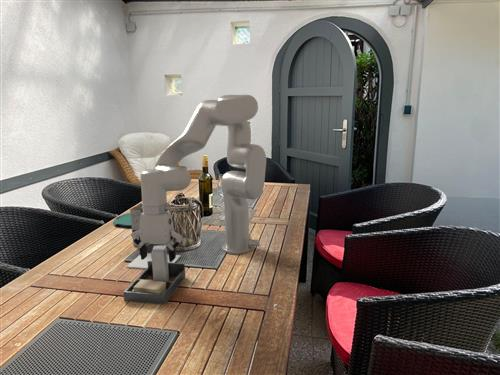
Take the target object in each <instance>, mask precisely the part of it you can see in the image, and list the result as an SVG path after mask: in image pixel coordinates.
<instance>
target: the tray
mask: <svg viewBox="0 0 500 375" xmlns="http://www.w3.org/2000/svg"><path fill="white" fill-rule="evenodd" d="M147 263H148V268H147V269H144V270H143V271H142V272H141V274H139V275H138V277H136V279H134V280H133V281H132V283H131V284H129V285H128V286H127V288H126V289H124V291H123V292H122V293H123V300H124V302H133V303H145V304H152V305H153V304H156V305H164V306H165V305H166V304H167V303H168V302H169V300H170V299H171V297H172V296H173V295H174V294H175V292H176V291H177V289H178V288H179V286H180V285H181V284H182V282H183V281H184V280H185V279H186V268H185V267H186V265H185V263H182V262H181V263H179V262H176V263H169V262H168V269H169V278H170V277H171V278H175V279H174V280H173V281H170V280H168V281H161V282H166V292H165V293H164V294H154V293H142V292H132V290H133V289H134V288H133V287H134V286H135V285H136V284H137V283H138V282H139V281H140V280H148V279H149V278H150V276H153V268H152V261H148V262H147ZM150 280H151V281H159V280H154V279H150Z"/></svg>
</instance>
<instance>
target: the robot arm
mask: <svg viewBox="0 0 500 375" xmlns="http://www.w3.org/2000/svg"><path fill="white" fill-rule="evenodd" d="M258 111H259V103H258V101H257V98H255V97H254V96H252V95H250V94H225V95H221V96H219V97H218V98H217V99H206V100H203V101H201V102H200V103H199V104H198V106H197V107H196V108H195V110H194V111H193V112H194V113H193V114H192V116H191V117H190V119H189V122H188V123H187V125H186V126H185V129H184V130H183V132H182V134H181V135H180V136H179V137H178V138H177V139H175V140H174V141H172V143H171V144H169V145H168V146H167V147H166V148H165V149H164V150H163V151H162V152H161V154H160V156H159V157H158V159H157V161H156V163H155V164H154V167H153V169H145V170H142V172H141V173H140V188H141V204H142V206H143V212H142V213H141V219H140V230H137V231H135V232H133V233H132V232H131V234H130V235H131V236H130V237H131V238H132V240H133V239H134V242H135V243H136V244H137V245H138V246H137V248H139V255H140V256H141V260H143V259H145V258H146V257H147V253H148V246H146V245H145V243H149V244H150V245H151V244H153V245H166V247H167V248H169V250H168V254H169V261H170V262H172V261H173V260H174V259H175V258H176V255H177V251H176V248H177V247H178V246H180V245H181V243H182V240H183V238H184V236H183V235H181V234H180V233H178V232H176V231H175V230H174V222H172V221H173V216H172V214H171V212H170V211H171V210H172V206H171V205H168V199H167V197H168V196H167V195H168V194H167V192H179V191H180V192H181V191H184V190H186V189H187V188H188V187H189V186H190V184H191V183H192V182H191V181H192V176H191V173H190V172H189V171H188V170H187V169H185V168H183V167H179V166H178V164H179V163H180V162H181V161H182V160H183V159H184V158H185V157H188V156H189V155H191V154H194V153H196V152H199V151H200V150H202V149H204V148H205V147H206V145H207V144H208V142H209V139H210V137H211V136H212V133H213V132H214V130H215V128H216V127H217V126H219V127H220V126H221V127H227V132H228V133H227V134H228V135H227V145H226V146H227V148H226V161H227V164H228V165H229V166H230V167H233V168H237V169H242V170H243V169H244V170H245V172H244V171H239V170H230V171H226V172H225V173H224V174H223V175H222V177H221V179H220V188H221V192H222V197H223V198H222V199H223V205H224V208H223V210H224V212H223V213H224V234H225V235H224V236H225V238H224V239H225V241H224V242H223V243H222V245H221V250H222V251H223V252H225V253H227V254H231V255H241V254H243V255H244V254H247V253H249V252H251V251H253V249H254V247H260V246H261V245H260V244H261V242H260V240H258V239H252V238H251V237H252V236H251V235H250V224H249V218H250V216H249V210H250V209H249V203H248V202H249V201H248V200H250V201H251V200H257V199H259V198H260V197H261V196H262V194H263V192H264V187H265V179H266V168H267V155H266V154H267V153H266V151H265V150H264V148H263V147H262V146H260V145H259V144H255V143H254V144H253V143H251V136H252V134H251V133H252V132H251V131H252V130H251V126H250V123H249V121H250V120H252V119H253V118H255V116H256V115H257V113H258ZM171 216H172V217H171ZM139 234H140V239H139V238H138V236H137V235H139ZM174 239H176V241H174Z"/></svg>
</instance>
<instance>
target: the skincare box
mask: <svg viewBox="0 0 500 375" xmlns="http://www.w3.org/2000/svg"><path fill="white" fill-rule="evenodd" d="M167 249H168V246H167V245H163V244H161V245H153V247H152V250H151V252H150V253H151V258H152V268H153V275H152V276H153V277H152V278H153V280H159V281H170V280H169V279H170V277H169V269H168V258H167V254H168V250H167Z"/></svg>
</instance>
